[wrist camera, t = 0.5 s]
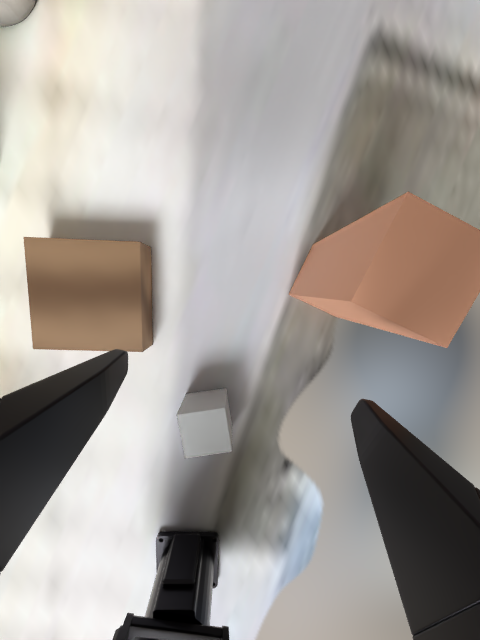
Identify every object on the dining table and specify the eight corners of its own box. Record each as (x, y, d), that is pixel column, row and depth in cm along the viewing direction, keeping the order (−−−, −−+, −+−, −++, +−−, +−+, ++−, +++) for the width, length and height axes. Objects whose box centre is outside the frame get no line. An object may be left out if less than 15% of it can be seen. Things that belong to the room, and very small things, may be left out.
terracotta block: (335, 316, 23) (447, 348, 11) (288, 294, 22) (350, 301, 10) (360, 268, 22) (507, 244, 10) (312, 244, 22) (408, 191, 10)
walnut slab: (154, 343, 23) (142, 351, 20) (59, 340, 23) (33, 349, 20) (152, 247, 22) (140, 241, 19) (52, 244, 22) (23, 237, 19)
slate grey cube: (232, 424, 24) (231, 451, 20) (193, 430, 24) (185, 458, 20) (226, 387, 23) (224, 407, 19) (186, 393, 23) (176, 414, 19)
